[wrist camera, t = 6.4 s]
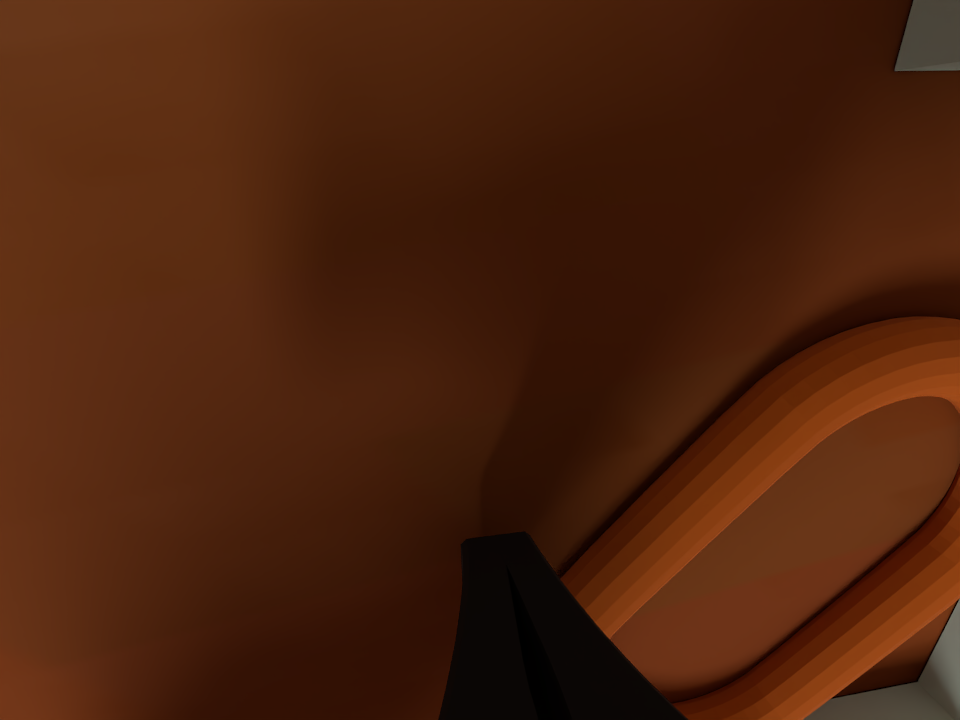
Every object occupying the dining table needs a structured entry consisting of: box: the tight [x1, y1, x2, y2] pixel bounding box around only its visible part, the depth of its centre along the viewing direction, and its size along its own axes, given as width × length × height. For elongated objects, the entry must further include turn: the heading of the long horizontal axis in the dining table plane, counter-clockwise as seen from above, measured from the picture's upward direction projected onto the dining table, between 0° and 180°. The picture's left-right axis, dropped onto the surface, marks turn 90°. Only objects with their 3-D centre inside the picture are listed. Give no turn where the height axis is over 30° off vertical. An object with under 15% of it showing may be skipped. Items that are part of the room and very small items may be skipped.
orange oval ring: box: [560, 316, 960, 720], centre depth 13 cm, size 10×2×15 cm
